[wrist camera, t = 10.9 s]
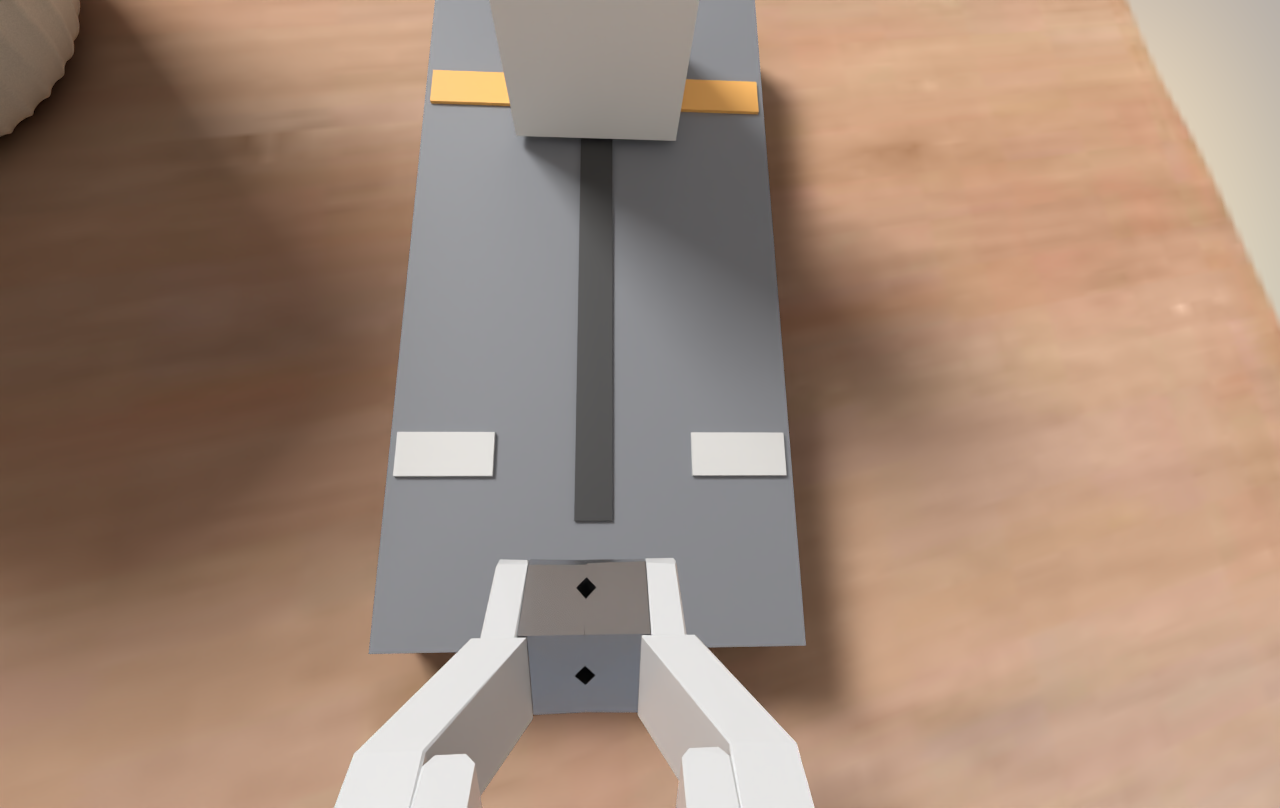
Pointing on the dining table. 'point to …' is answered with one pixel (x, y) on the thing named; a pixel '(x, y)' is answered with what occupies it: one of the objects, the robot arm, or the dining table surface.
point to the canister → (33, 53)
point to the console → (590, 353)
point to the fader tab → (595, 66)
